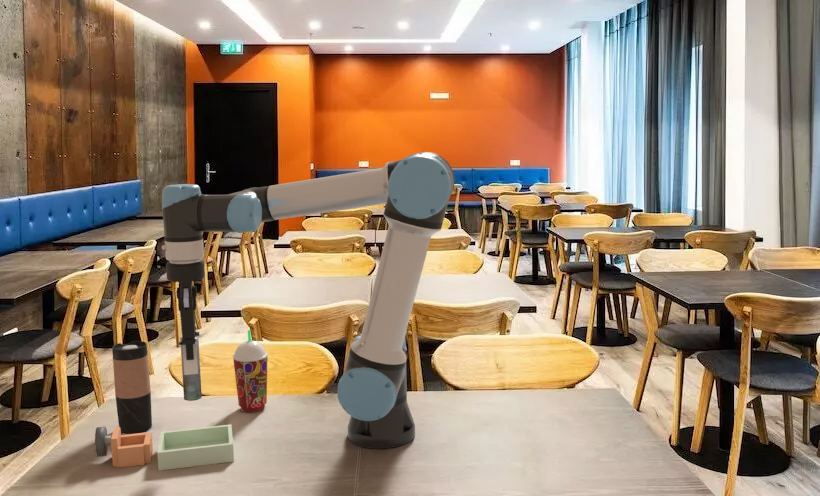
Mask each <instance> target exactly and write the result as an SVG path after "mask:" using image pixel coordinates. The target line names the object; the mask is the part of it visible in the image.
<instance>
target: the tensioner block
mask: <svg viewBox="0 0 820 496" xmlns="http://www.w3.org/2000/svg"><path fill="white" fill-rule="evenodd" d="M109 446H111V459H112V467H118V468H124V467H125V468H126V467H134V466H142V465H144V466H145V464H149V463H151V462H152V458H153V453H154V447H153V434H152V432H147V431H146V432H143V433H136V434H122V433H121V429H120V427H119V426H118V427H114V428H113V431H112V433H111V435H108V429H107V426H99V427H98V426H97V427H96V428H95V432H94V448H95V456H96V457H97V458H99V457H106V456H107V454H108V447H109Z"/></svg>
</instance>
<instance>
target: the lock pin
mask: <svg viewBox="0 0 820 496" xmlns="http://www.w3.org/2000/svg"><path fill="white" fill-rule="evenodd" d="M195 339H196V347H197V365H198V374H190V375H184V362H183V345H180V353H181V354H180V356H181V370H182V372H181V373H182V387H183V400H184V401H187V402H191V401H198V400H201V399H202V396H203V393H202V379H201V377H202V375H201V361H200V360H201V359H200V343H199V336H195ZM179 342H182V336H181V337H180V341H179Z"/></svg>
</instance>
